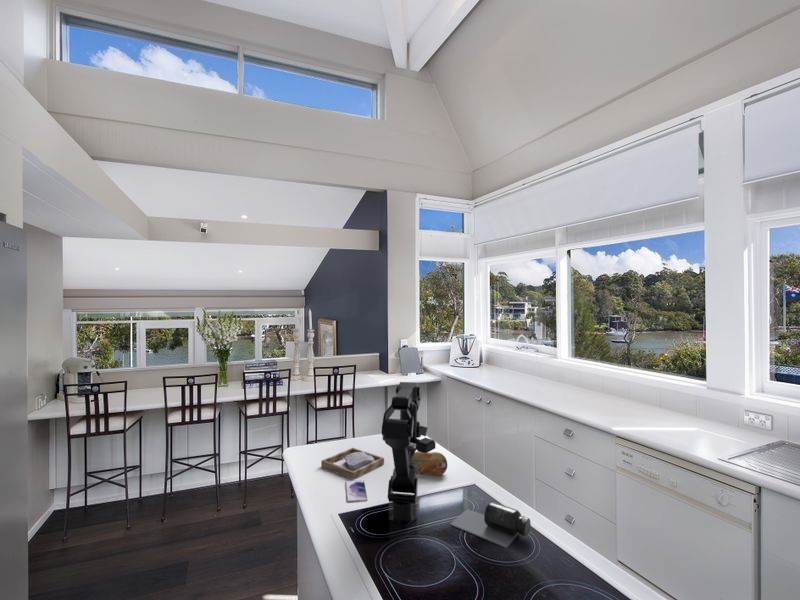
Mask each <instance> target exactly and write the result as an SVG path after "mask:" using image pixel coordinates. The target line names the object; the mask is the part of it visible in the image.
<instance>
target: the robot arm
mask: <svg viewBox="0 0 800 600" xmlns="http://www.w3.org/2000/svg"><path fill="white" fill-rule="evenodd" d="M395 394H396V395H394V396H392V399H391V403H390V405H389V406H388V408H387V409H386V410H385V412H384V414H383V418H382V424H381V436H382V441H384V443H385V444H386V445H387V446H389V447H390V448H391V451H392V452H391V453H392V459H393V466H394V468H393V471H392V475H391V476H390V479H389V480H388V486H387V500H388V503H391V502H392V515H391V516H389V518H388V520H389V522H392V523H395V524H397V525H398V526H400V527H403V528H405V527H408V526H409V525H410V524H411V523H413V522H414V521H416V520H417V519H418V516H417V515H415V514H414V505H416V503H417V499H418V488H419V487H418V486H419V483H418V482H419V478H418V477H417V474H415V467H414V466H413V465H410V463H411V461H412V458H413V455H414V453H415V452H422V453H427V452H432V451H433V450H435V449H436V442H435V439H431V438H427V432H428V426H424V425H421V424H420V421H418V410H419V408H420V405H421V401H422V391H421V386H420V385H419V383H418V382H410V381H409V382H408V381H400V382H399V384H397V386H396V387H395ZM395 411H399V418H391V417H392V415H393V414H394V413H395ZM422 436H423V437H424V438H422V439H420V438H421V437H422Z"/></svg>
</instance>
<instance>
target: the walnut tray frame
mask: <svg viewBox="0 0 800 600" xmlns="http://www.w3.org/2000/svg"><path fill="white" fill-rule="evenodd" d="M363 451H364V450H361V449H358V448H355V447H351V448H349V449H346V450H343V451H342V452H339V453H337V454H334V455H331V456H330V457H327V458H324V459H322V460H321V464H320V465H321V468H323V469H326V470H328V471H331V472H334V473H336V474H339V475H341V476H344V477H346V478H349V479H351V480H352V481H355V480H357V478H359V477H360V478H361V476H363V475H365V474H367V473H369V472H372V471H373V470H375V469H378V468H380V467H382V466H383V465H385V457H383V456H379V455H376V454H374V453H370V452H367V451H364V452H365V453H366V454H367V455H370V456H372V457H373V458H374V462H372V463H370V464H368V465H366V466H363V467H361V468H359V469H357V470H355V471H353V470H351V469H348V468H345V467H343V466H340V465H338V464H335V463H336V462H339V461H341V460H343V458H344V459H345V457H346V456H347V455H349V454H351V453H355V452H363ZM334 462H335V463H334Z"/></svg>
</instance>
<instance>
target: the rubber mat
mask: <svg viewBox="0 0 800 600" xmlns="http://www.w3.org/2000/svg"><path fill="white" fill-rule="evenodd" d="M449 525H450V526H451V527H454V528H456V529H459V530H461V531H463V532H466V533H469V534H471V535H474V536H475V537H478V538H481V539H484V540H486V541H489V542H491V543H493V544H496V545H498V546H501V547H503V548H506V549H507V548H508V547H509V546H510V545H511V544H512V542H513V541H514V540H515V539H516V538H517V536H518V535H520V534H519V533H518V534H517V535H515V536H512V535H510V534H507V533H505V532H502V531H500V530H497V529H494V528H492V527H489V526H487V525H486V524H485V521H484V514H482V513H480V512H477V511H474V510H472V509H469V508H466V509H465V511H463V512H462V513H461V514H460V515H458V516H457V517H456V518H454V520H452V522H450V523H449Z"/></svg>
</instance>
